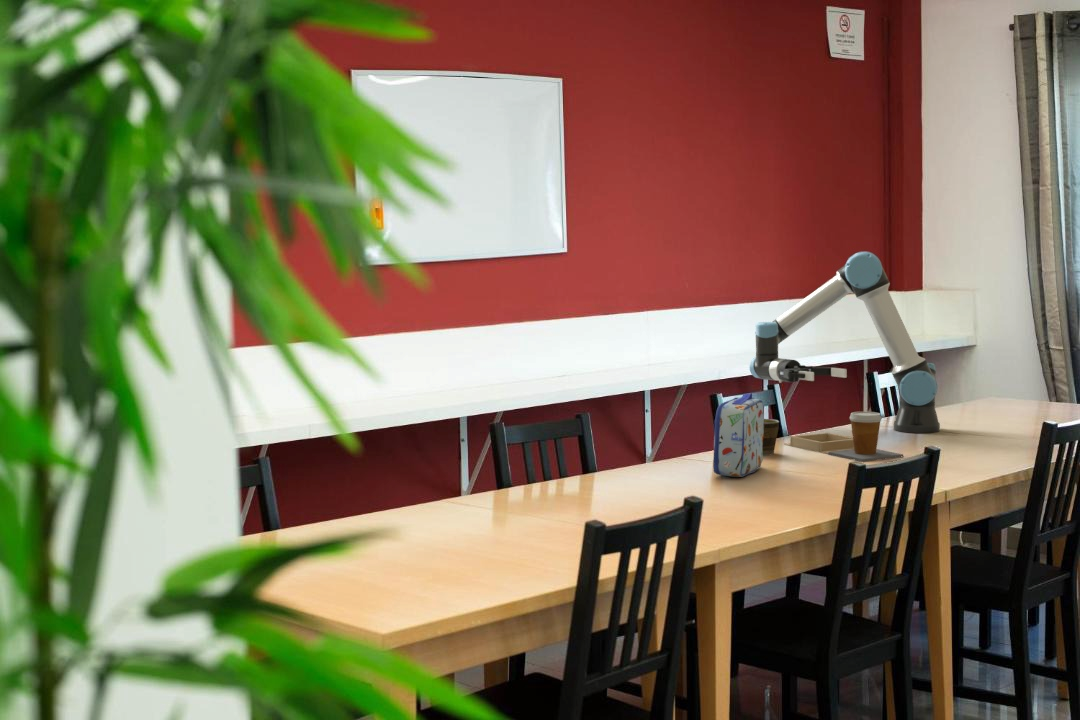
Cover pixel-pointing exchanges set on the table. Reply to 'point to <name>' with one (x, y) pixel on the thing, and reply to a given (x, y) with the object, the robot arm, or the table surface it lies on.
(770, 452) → the ceramic cup
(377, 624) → the table surface
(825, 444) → the tan shallow tray
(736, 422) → the lunch box
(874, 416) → the disposable coffee cup
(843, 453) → the charcoal mat
